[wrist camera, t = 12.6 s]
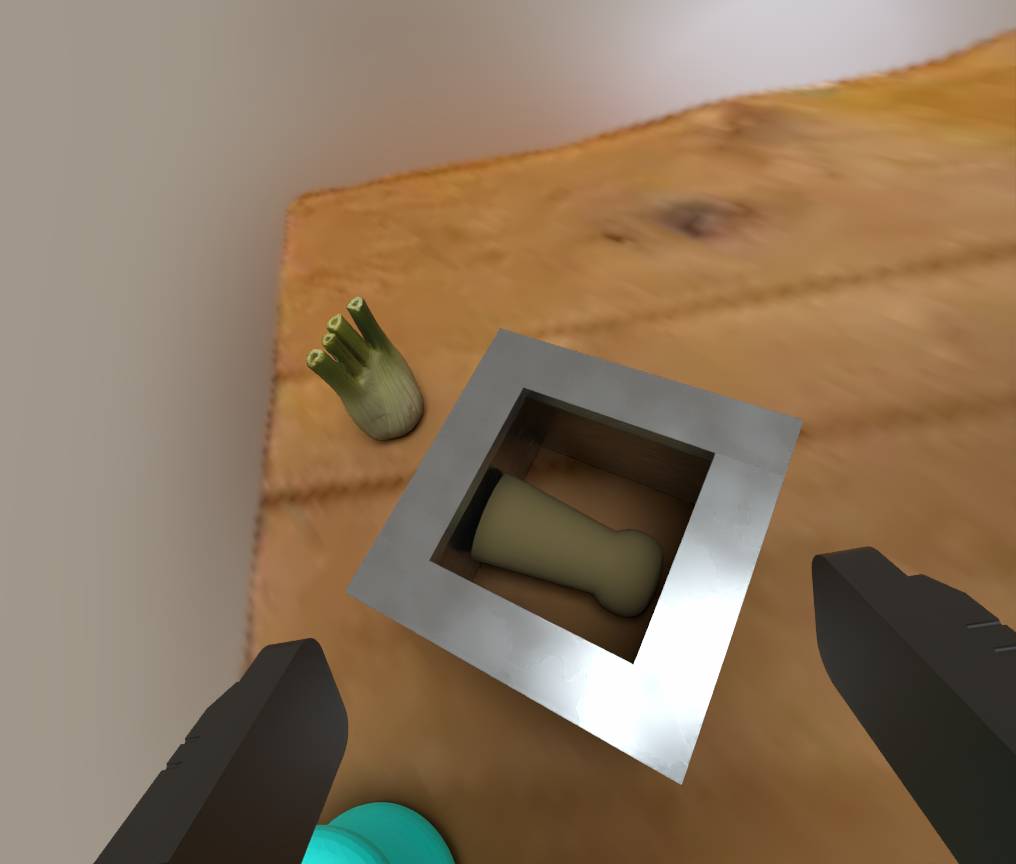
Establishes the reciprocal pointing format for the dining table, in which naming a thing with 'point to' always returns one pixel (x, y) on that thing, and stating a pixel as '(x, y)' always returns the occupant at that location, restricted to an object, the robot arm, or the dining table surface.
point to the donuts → (377, 838)
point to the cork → (567, 547)
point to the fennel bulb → (368, 375)
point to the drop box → (619, 450)
